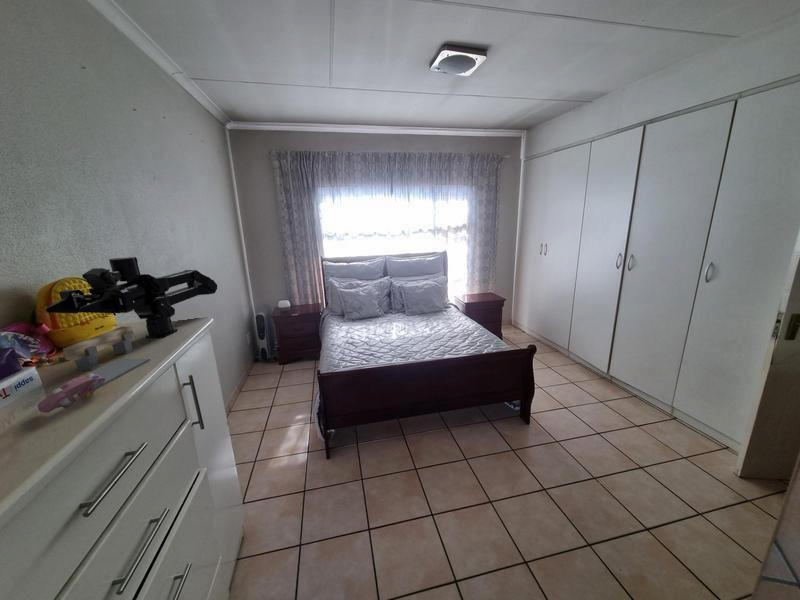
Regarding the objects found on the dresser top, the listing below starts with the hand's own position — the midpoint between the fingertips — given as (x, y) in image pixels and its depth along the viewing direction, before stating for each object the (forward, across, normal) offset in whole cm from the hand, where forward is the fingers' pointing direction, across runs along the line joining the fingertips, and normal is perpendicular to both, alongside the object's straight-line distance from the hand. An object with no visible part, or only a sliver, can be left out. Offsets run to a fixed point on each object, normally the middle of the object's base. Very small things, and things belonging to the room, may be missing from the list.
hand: (63, 310), depth 77 cm
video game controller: (+14, +14, +16) cm, 26 cm away
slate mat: (+2, +8, +16) cm, 19 cm away
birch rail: (-6, 0, +13) cm, 14 cm away
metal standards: (-6, 0, +17) cm, 18 cm away
